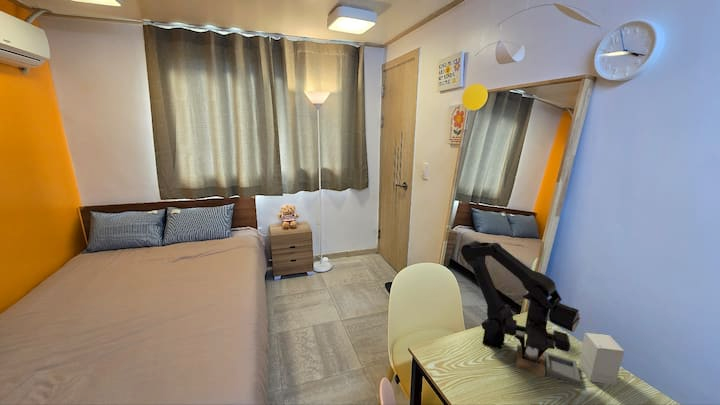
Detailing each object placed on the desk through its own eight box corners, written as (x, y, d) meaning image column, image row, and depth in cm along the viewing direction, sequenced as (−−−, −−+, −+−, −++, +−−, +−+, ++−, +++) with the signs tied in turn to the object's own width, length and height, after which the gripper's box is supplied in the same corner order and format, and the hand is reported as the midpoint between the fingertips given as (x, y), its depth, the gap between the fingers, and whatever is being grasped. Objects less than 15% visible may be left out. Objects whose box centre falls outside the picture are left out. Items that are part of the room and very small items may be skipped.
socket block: (516, 367, 97) (517, 359, 96) (516, 351, 104) (517, 344, 103) (544, 376, 93) (545, 368, 93) (542, 359, 100) (543, 352, 99)
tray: (545, 374, 94) (546, 370, 94) (543, 356, 102) (544, 351, 101) (579, 385, 90) (580, 381, 89) (575, 365, 98) (576, 361, 97)
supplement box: (616, 385, 90) (625, 351, 87) (589, 381, 91) (597, 348, 88) (602, 366, 97) (610, 334, 94) (577, 363, 98) (584, 331, 95)
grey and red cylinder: (522, 365, 98) (526, 342, 96) (522, 357, 101) (526, 335, 99) (536, 369, 96) (540, 347, 94) (536, 361, 99) (539, 339, 97)
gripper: (504, 320, 91) (499, 361, 95) (577, 339, 83) (567, 383, 87) (506, 301, 101) (501, 339, 105) (571, 317, 92) (563, 358, 96)
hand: (530, 354), depth 98 cm, fingers closed on grey and red cylinder, 4 cm apart
